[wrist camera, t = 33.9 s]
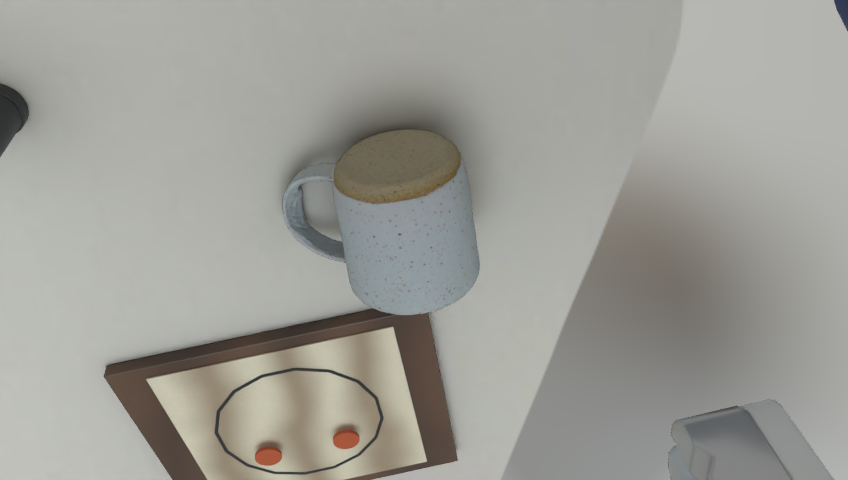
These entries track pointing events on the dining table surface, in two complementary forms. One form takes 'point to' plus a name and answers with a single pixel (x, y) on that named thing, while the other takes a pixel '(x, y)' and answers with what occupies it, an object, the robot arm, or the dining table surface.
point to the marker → (11, 115)
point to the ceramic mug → (396, 221)
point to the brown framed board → (295, 401)
